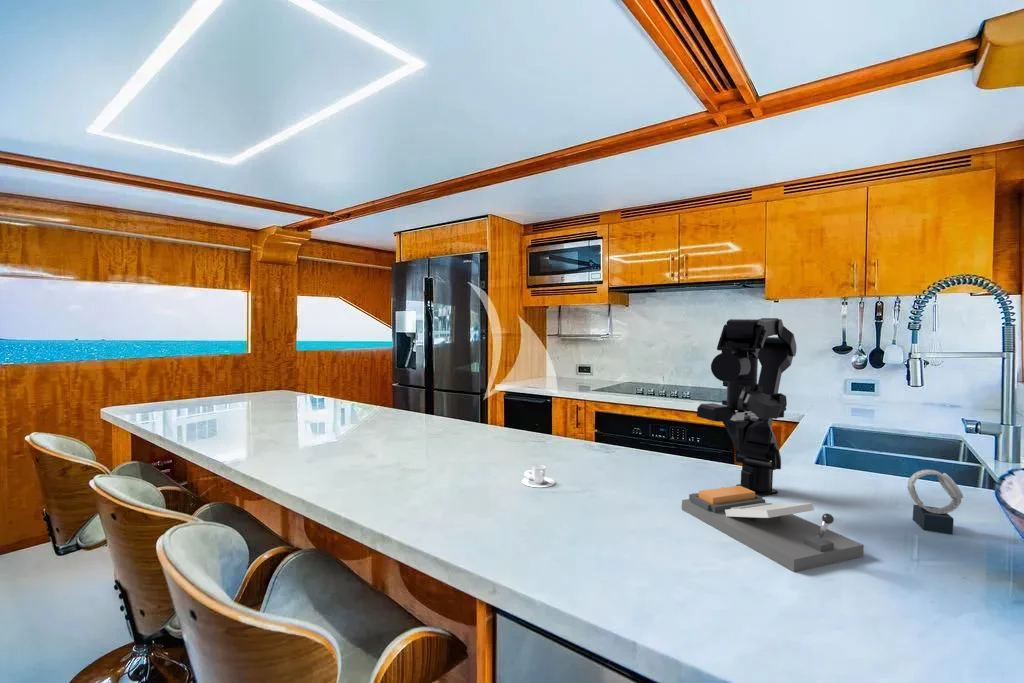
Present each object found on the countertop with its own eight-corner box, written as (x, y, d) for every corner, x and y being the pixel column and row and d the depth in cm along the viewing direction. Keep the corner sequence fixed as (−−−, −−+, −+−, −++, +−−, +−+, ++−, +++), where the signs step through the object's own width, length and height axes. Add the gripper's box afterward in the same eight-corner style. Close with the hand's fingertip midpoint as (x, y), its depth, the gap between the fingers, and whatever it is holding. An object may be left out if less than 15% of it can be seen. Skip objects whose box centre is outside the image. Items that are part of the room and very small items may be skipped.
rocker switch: (769, 509, 94) (767, 502, 94) (814, 510, 85) (812, 502, 85) (726, 516, 90) (724, 508, 91) (768, 517, 81) (766, 509, 82)
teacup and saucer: (521, 476, 119) (522, 460, 119) (553, 477, 118) (553, 461, 118) (521, 488, 110) (521, 471, 110) (555, 489, 110) (556, 472, 110)
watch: (966, 536, 88) (969, 478, 87) (912, 528, 91) (915, 472, 91) (952, 525, 93) (955, 470, 93) (901, 517, 96) (904, 464, 96)
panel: (740, 500, 104) (741, 486, 104) (863, 556, 79) (864, 537, 79) (681, 509, 98) (682, 494, 98) (793, 571, 74) (794, 551, 74)
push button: (739, 494, 101) (739, 485, 101) (754, 501, 97) (755, 491, 97) (698, 500, 97) (698, 490, 97) (712, 507, 94) (713, 497, 93)
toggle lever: (818, 533, 79) (828, 510, 78) (826, 540, 78) (837, 517, 76) (811, 534, 79) (821, 512, 77) (819, 541, 77) (830, 518, 76)
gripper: (738, 384, 89) (735, 465, 90) (809, 381, 95) (805, 457, 96) (696, 377, 100) (694, 450, 100) (763, 375, 106) (760, 444, 107)
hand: (739, 450), depth 100 cm, fingers closed
